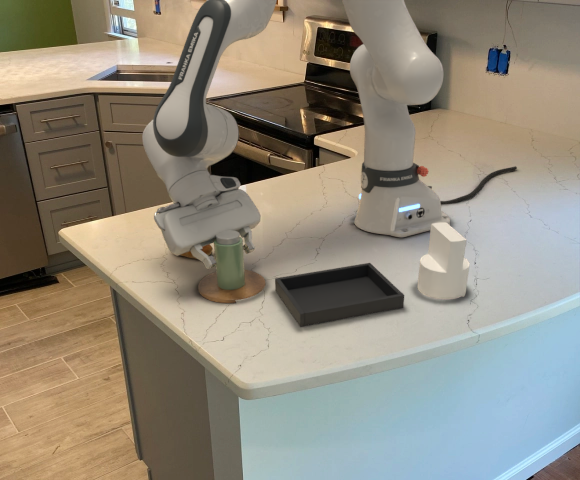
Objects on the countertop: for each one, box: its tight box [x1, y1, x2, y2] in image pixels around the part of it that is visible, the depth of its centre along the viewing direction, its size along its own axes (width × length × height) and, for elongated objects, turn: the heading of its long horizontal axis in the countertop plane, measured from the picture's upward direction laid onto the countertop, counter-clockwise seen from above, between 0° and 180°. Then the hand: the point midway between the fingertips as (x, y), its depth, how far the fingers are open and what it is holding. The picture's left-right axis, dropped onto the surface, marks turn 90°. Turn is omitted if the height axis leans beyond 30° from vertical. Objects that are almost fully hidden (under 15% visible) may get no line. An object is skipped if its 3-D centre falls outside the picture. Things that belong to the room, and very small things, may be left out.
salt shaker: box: [213, 230, 246, 290], centre depth 119 cm, size 5×5×10 cm
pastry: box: [180, 244, 214, 259], centre depth 135 cm, size 9×7×4 cm
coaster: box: [197, 269, 266, 304], centre depth 121 cm, size 13×13×1 cm
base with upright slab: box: [417, 222, 471, 301], centre depth 115 cm, size 9×9×12 cm
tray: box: [274, 262, 405, 328], centre depth 115 cm, size 20×15×3 cm
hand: (232, 259), depth 118 cm, fingers open, 8 cm apart
